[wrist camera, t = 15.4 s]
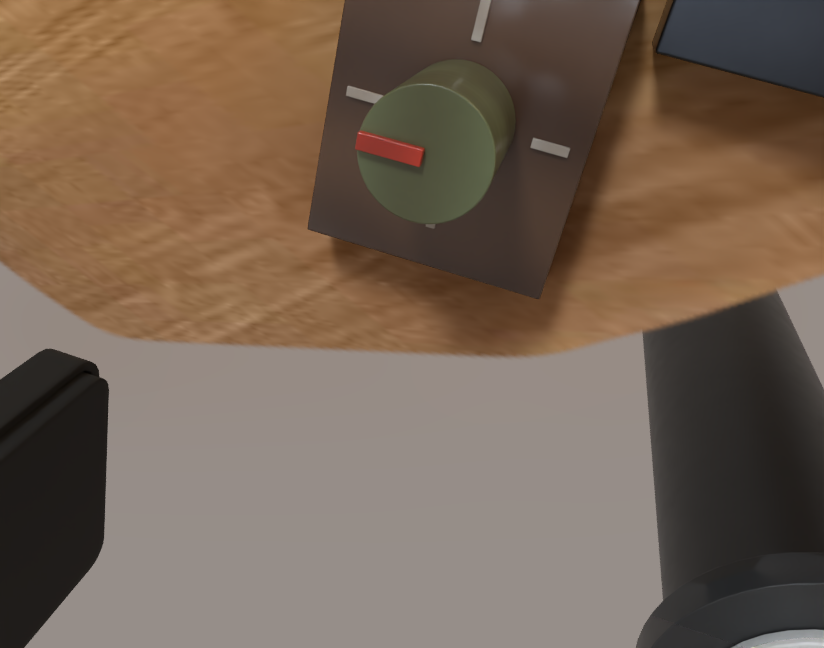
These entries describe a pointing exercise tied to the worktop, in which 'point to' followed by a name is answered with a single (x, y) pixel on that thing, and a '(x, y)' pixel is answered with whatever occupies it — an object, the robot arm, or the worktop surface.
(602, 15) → the brown dial base plate
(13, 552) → the robot arm
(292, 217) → the worktop surface
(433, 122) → the green rotary knob near
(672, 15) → the black dial base plate
